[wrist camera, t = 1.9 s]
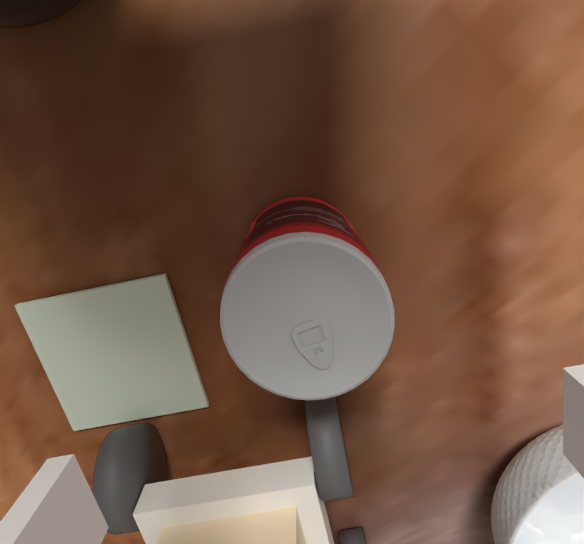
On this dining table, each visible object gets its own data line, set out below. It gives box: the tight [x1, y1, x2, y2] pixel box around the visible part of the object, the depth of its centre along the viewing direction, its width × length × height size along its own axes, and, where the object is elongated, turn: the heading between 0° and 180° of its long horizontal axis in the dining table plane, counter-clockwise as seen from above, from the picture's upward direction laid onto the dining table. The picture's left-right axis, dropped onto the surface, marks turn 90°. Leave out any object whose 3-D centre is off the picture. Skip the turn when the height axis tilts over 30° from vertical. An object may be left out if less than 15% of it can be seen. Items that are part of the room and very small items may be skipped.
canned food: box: [220, 196, 395, 400], centre depth 23 cm, size 8×8×11 cm
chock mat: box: [14, 273, 209, 431], centre depth 31 cm, size 11×11×1 cm
